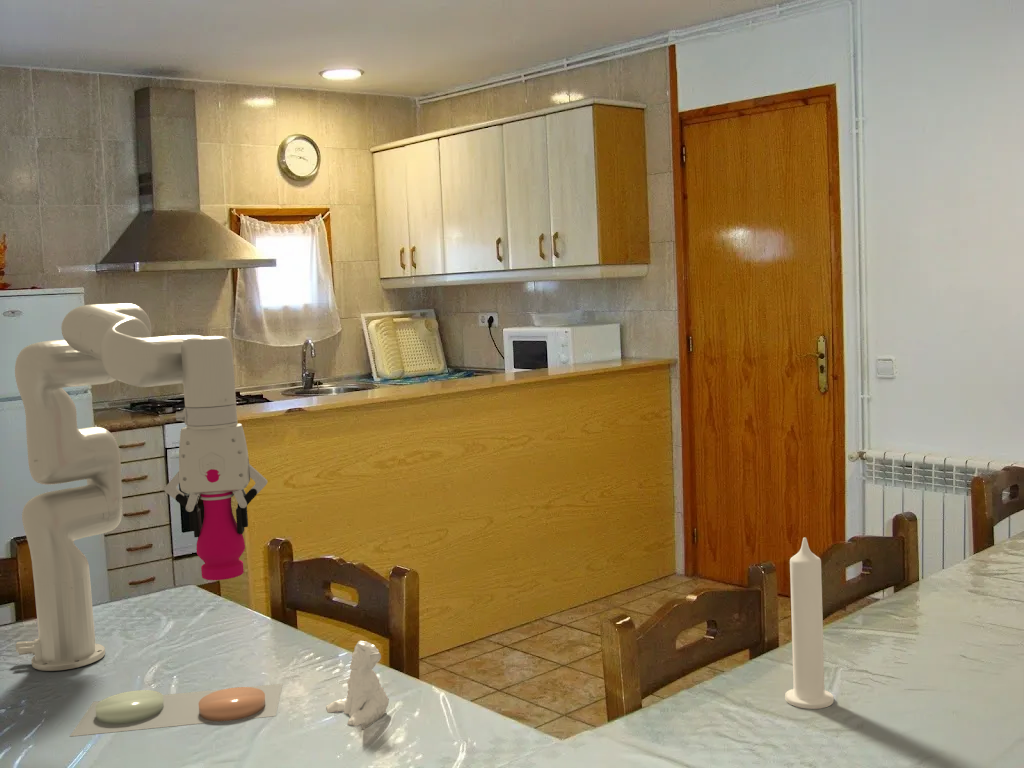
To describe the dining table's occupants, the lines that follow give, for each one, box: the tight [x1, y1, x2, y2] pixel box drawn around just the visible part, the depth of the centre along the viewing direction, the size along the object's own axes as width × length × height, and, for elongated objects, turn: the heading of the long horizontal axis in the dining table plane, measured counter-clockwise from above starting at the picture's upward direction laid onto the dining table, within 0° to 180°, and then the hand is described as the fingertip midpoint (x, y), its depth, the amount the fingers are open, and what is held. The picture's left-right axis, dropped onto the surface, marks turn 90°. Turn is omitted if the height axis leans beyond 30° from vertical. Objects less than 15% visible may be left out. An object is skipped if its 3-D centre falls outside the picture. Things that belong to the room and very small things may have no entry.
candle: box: [784, 536, 835, 710], centre depth 159 cm, size 7×7×25 cm
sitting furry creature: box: [325, 640, 390, 731], centre depth 161 cm, size 10×9×12 cm
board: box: [69, 683, 284, 738], centre depth 166 cm, size 30×14×1 cm, turn 98°
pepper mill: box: [196, 469, 246, 581], centre depth 162 cm, size 7×7×20 cm
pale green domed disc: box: [95, 689, 164, 724], centre depth 166 cm, size 10×10×2 cm
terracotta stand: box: [199, 686, 265, 722], centre depth 165 cm, size 10×10×2 cm
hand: (219, 532), depth 163 cm, fingers closed on pepper mill, 5 cm apart
